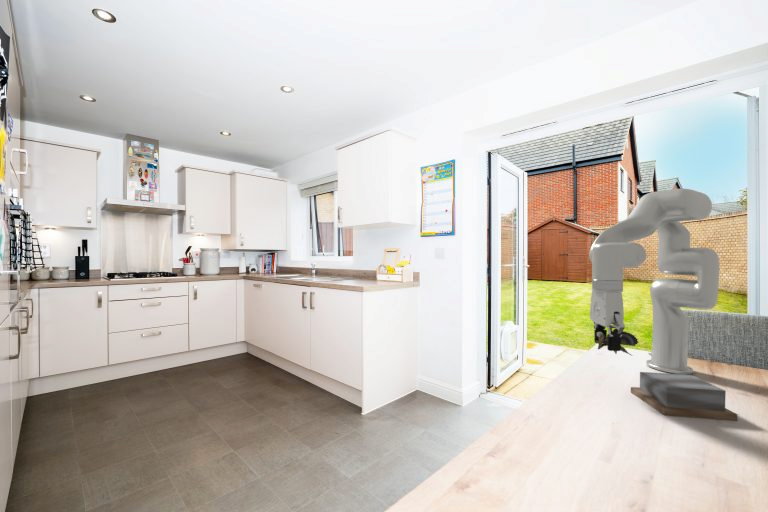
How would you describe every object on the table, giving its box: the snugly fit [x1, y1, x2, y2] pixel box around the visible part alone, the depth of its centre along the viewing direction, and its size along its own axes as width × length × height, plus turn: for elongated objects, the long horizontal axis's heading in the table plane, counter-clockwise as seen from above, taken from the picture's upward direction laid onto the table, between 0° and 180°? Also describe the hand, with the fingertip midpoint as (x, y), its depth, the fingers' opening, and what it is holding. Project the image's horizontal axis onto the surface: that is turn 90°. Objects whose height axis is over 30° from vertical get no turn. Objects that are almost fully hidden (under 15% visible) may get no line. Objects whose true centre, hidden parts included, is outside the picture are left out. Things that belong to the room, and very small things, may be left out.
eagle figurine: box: [596, 331, 639, 356], centre depth 98 cm, size 8×7×9 cm
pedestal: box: [630, 371, 739, 421], centre depth 89 cm, size 14×16×6 cm
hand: (607, 346), depth 98 cm, fingers closed on eagle figurine, 6 cm apart
